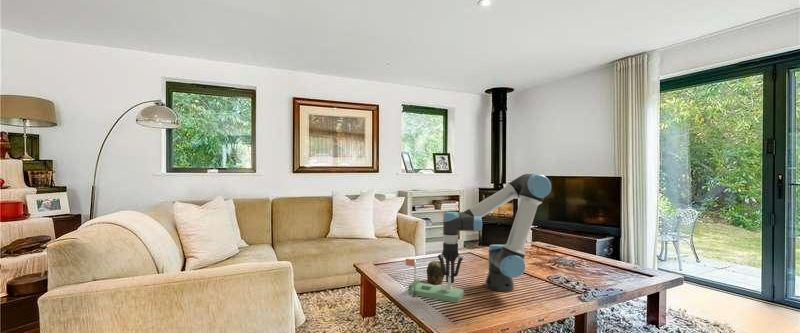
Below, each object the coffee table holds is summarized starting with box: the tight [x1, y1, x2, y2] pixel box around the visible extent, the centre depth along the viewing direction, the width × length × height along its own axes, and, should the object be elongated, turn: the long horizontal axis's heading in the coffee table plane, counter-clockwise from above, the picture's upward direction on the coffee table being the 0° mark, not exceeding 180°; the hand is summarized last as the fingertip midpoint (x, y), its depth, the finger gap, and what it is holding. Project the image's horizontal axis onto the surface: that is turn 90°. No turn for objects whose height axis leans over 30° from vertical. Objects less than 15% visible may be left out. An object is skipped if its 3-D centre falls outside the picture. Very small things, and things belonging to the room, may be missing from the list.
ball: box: [440, 283, 448, 291], centre depth 169 cm, size 4×4×4 cm
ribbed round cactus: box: [426, 260, 446, 285], centre depth 190 cm, size 11×11×12 cm
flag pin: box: [405, 258, 418, 298], centre depth 169 cm, size 6×2×19 cm, turn 65°
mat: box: [408, 278, 465, 303], centre depth 171 cm, size 26×12×4 cm, turn 65°
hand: (450, 289), depth 168 cm, fingers closed
